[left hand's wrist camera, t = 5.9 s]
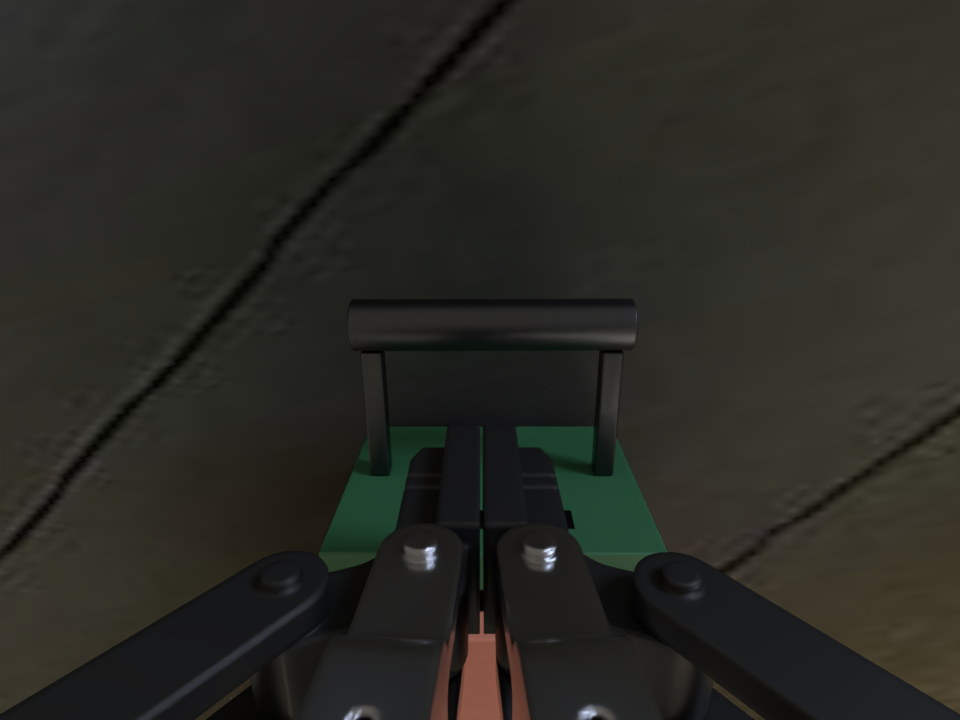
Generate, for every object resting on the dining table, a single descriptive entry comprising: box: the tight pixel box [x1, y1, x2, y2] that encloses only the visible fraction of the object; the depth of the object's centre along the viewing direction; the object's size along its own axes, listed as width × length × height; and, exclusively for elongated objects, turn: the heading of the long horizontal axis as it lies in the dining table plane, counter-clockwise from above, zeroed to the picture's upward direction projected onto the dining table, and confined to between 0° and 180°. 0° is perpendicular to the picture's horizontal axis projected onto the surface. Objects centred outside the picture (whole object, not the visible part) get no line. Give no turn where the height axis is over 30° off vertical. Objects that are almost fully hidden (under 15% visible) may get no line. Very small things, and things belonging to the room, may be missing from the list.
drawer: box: [319, 299, 667, 612], centre depth 19 cm, size 18×9×7 cm, turn 0°
